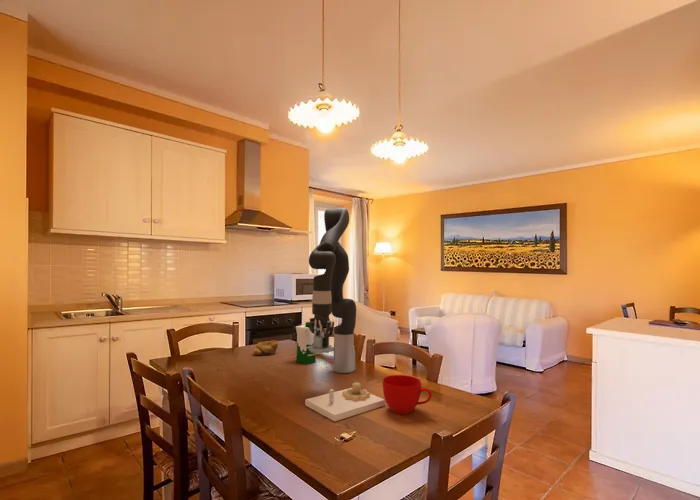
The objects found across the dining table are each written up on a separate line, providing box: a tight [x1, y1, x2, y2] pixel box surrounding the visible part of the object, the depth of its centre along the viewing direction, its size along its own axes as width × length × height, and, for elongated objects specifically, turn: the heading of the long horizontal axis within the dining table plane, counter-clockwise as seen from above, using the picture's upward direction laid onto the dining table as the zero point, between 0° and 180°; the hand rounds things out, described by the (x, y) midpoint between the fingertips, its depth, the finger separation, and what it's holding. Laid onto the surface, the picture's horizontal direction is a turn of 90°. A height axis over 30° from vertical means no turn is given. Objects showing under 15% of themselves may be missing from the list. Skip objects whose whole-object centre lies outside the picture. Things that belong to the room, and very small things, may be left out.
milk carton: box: [295, 321, 317, 365], centre depth 187 cm, size 9×9×20 cm
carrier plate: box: [304, 381, 386, 422], centre depth 130 cm, size 22×17×7 cm
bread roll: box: [253, 339, 279, 356], centre depth 203 cm, size 13×10×8 cm
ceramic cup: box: [382, 374, 433, 415], centre depth 125 cm, size 13×17×10 cm
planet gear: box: [309, 334, 334, 355], centre depth 146 cm, size 10×10×6 cm
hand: (321, 345), depth 146 cm, fingers closed on planet gear, 4 cm apart
